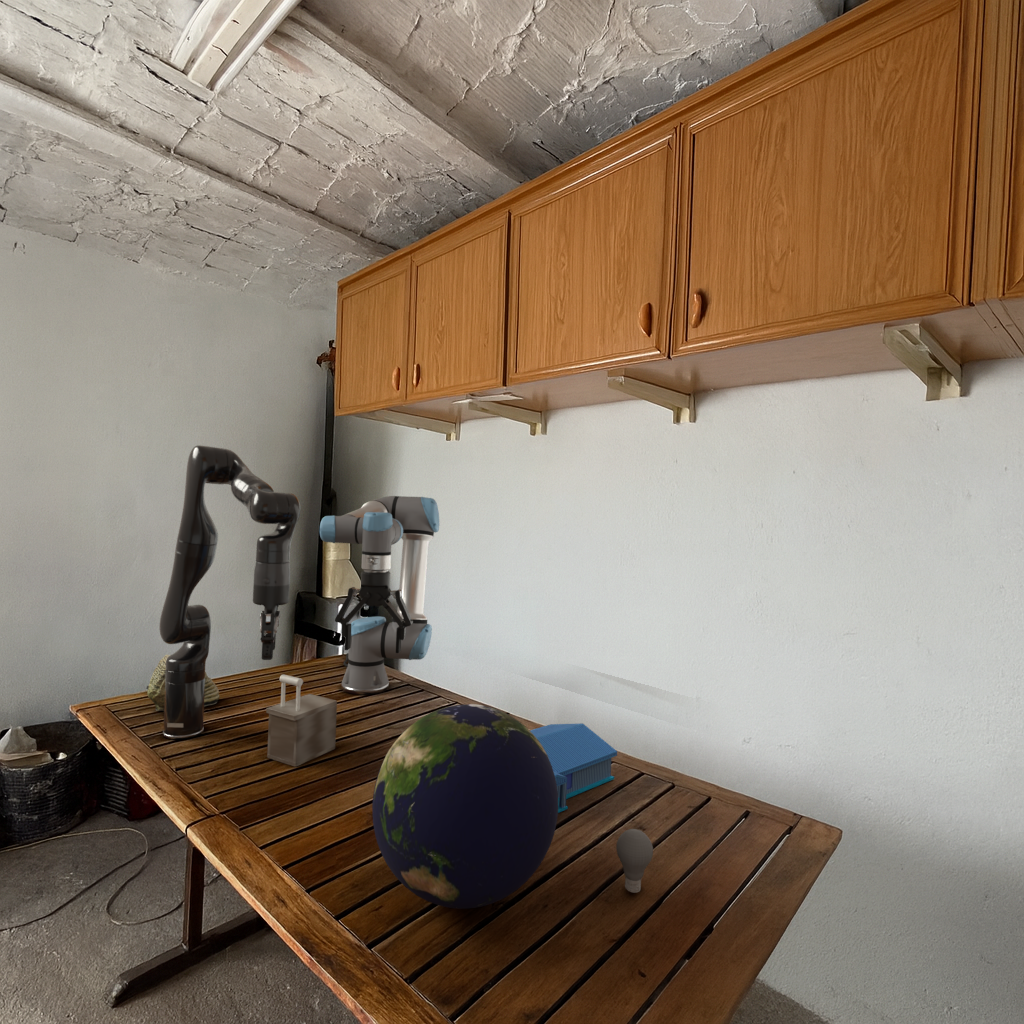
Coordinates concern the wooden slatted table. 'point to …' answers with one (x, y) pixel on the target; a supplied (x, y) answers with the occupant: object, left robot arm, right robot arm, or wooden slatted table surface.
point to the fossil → (158, 687)
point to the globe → (465, 806)
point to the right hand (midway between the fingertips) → (372, 650)
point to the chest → (301, 737)
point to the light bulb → (634, 857)
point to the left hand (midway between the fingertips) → (268, 654)
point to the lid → (298, 702)
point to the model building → (575, 758)
